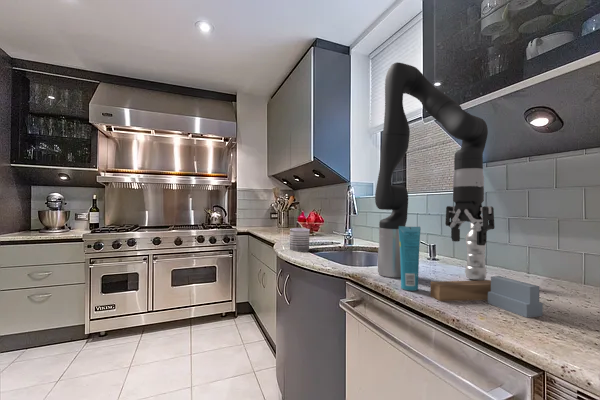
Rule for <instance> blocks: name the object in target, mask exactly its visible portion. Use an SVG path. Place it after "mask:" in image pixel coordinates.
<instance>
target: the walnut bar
mask: <svg viewBox="0 0 600 400" xmlns="http://www.w3.org/2000/svg"><path fill="white" fill-rule="evenodd" d="M488 292H491V279H489V280H486V279H484V280H448V281H447V280H441V281H430V295H429V297H431V298H432V299H434V300H437V301H438V302H454V301H455V302H458V301H460V302H461V301H488Z"/></svg>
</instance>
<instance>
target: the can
mask: <svg viewBox="0 0 600 400" xmlns="http://www.w3.org/2000/svg"><path fill="white" fill-rule="evenodd" d="M310 231H311V230H310V228H306V227H304V228H303V227H294V228H293V227H292V228H290V229H289V251H292V252H308V251H310Z"/></svg>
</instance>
